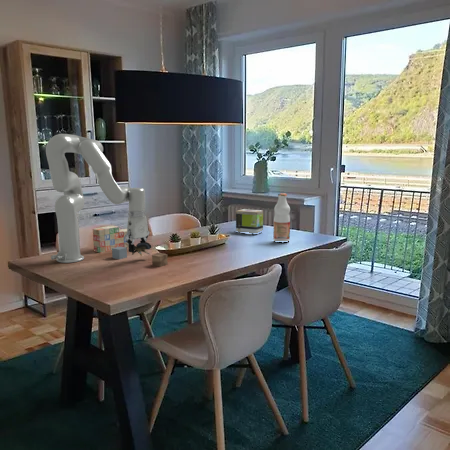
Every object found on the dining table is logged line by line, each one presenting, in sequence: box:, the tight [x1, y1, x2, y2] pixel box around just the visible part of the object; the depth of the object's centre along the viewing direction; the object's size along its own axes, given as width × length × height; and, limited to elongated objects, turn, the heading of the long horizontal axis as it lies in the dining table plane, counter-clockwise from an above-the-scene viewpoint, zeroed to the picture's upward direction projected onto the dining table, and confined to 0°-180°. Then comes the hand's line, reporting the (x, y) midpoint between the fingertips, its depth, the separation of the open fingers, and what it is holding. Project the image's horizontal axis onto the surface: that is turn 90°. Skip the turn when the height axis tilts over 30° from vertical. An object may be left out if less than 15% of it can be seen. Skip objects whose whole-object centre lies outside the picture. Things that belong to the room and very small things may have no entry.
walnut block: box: [151, 252, 169, 268], centre depth 206 cm, size 5×5×5 cm
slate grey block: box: [111, 247, 128, 260], centre depth 219 cm, size 5×5×5 cm
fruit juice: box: [272, 193, 291, 242], centre depth 254 cm, size 9×9×28 cm
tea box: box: [235, 208, 264, 233], centre depth 282 cm, size 15×10×15 cm, turn 60°
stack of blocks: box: [92, 225, 132, 253], centre depth 239 cm, size 21×6×12 cm, turn 140°
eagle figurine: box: [131, 241, 152, 257], centre depth 213 cm, size 8×7×9 cm
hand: (137, 250), depth 212 cm, fingers closed on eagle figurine, 7 cm apart
